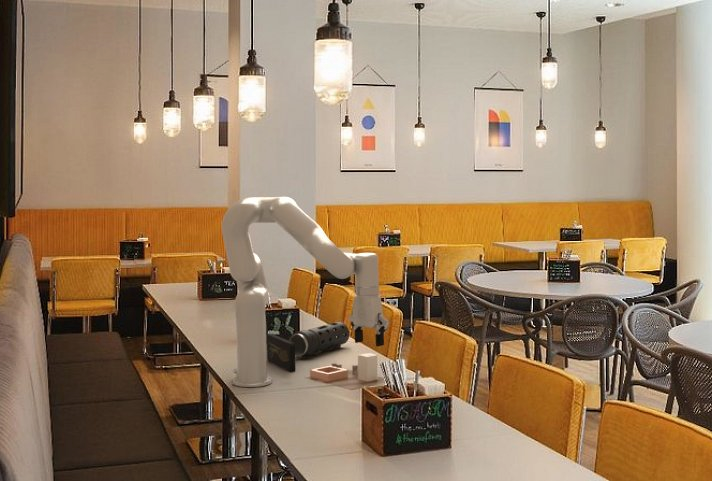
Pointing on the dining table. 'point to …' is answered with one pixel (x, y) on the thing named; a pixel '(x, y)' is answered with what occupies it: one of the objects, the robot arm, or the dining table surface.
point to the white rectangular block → (367, 367)
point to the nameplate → (281, 352)
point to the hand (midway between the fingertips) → (369, 344)
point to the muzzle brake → (320, 339)
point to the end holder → (329, 373)
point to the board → (350, 379)
